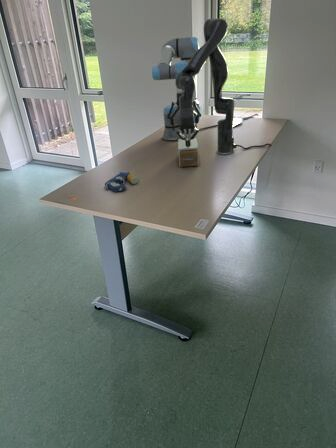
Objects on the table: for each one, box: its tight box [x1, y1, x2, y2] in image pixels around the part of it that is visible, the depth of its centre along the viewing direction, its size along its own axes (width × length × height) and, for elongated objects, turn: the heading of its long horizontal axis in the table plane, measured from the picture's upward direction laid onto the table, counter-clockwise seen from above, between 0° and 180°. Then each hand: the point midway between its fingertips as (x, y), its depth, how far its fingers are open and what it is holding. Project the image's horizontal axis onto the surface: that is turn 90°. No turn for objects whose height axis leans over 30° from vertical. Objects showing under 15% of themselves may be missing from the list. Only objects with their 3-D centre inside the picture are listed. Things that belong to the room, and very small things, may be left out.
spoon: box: [233, 117, 243, 128], centre depth 261 cm, size 35×11×2 cm, turn 159°
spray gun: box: [103, 170, 139, 193], centre depth 182 cm, size 21×4×15 cm
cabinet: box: [177, 137, 200, 168], centre depth 204 cm, size 18×12×11 cm, turn 179°
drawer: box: [178, 150, 199, 167], centre depth 199 cm, size 23×10×9 cm, turn 179°
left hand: (184, 129), depth 201 cm, fingers open, 13 cm apart
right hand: (188, 146), depth 188 cm, fingers closed
